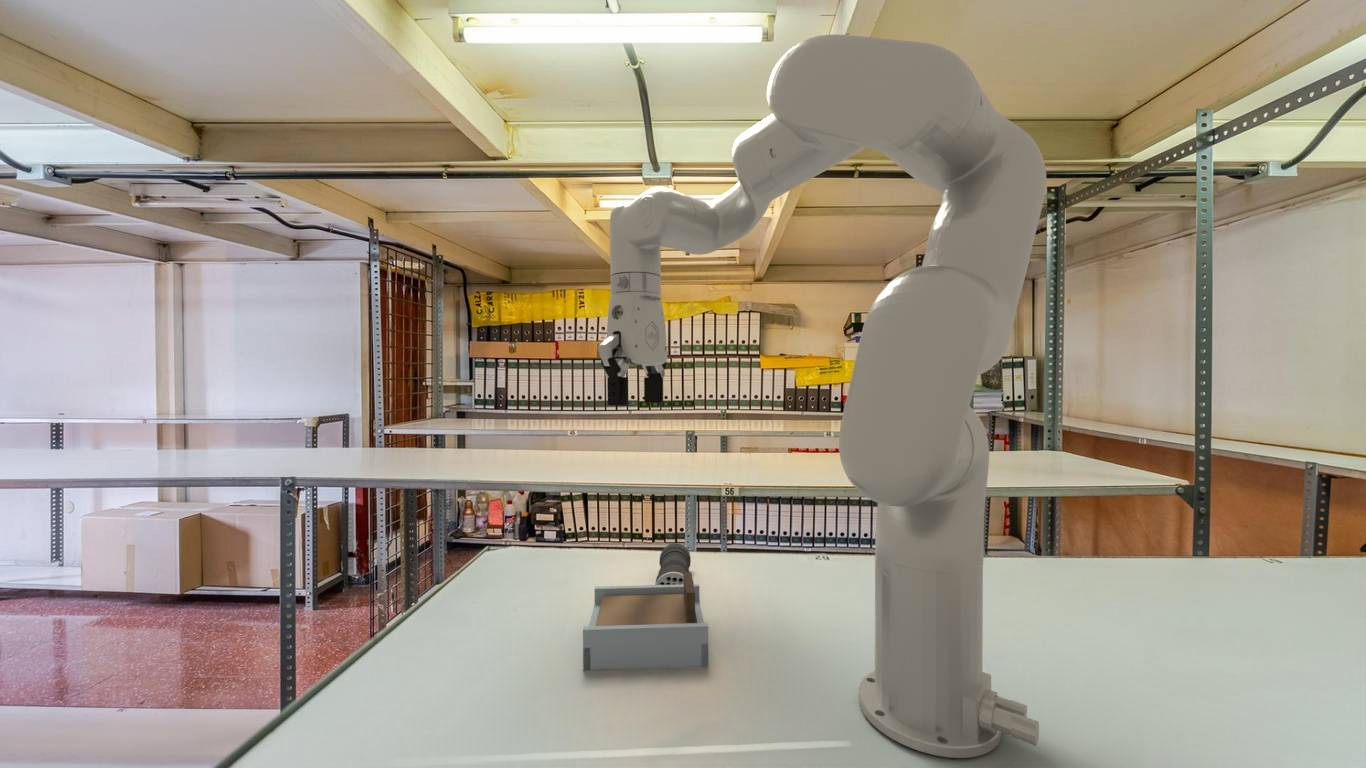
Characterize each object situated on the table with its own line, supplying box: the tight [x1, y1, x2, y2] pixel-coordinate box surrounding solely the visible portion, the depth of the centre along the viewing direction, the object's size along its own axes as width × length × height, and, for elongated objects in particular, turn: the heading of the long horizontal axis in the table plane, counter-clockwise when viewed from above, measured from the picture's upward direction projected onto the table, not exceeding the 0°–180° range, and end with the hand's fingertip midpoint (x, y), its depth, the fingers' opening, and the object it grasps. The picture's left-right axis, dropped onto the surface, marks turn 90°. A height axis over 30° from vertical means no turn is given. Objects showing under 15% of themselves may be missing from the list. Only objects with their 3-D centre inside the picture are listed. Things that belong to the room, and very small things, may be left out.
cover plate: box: [596, 571, 697, 626], centre depth 64 cm, size 12×10×5 cm
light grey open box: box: [582, 583, 709, 671], centre depth 64 cm, size 14×12×5 cm
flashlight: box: [654, 542, 692, 585], centre depth 82 cm, size 15×5×5 cm, turn 0°
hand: (636, 403), depth 78 cm, fingers open, 9 cm apart
